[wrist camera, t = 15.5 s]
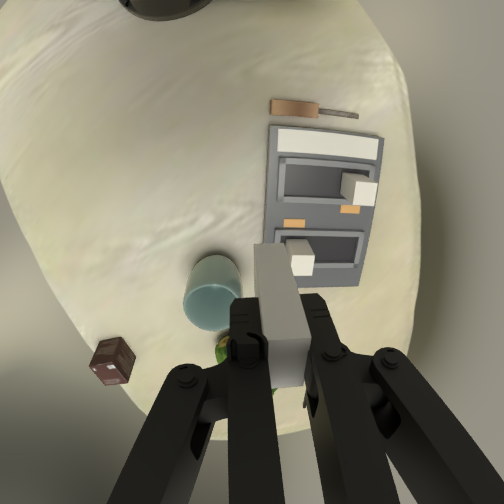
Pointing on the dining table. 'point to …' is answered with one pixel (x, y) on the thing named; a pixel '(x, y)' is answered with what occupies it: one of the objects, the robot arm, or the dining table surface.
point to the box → (113, 361)
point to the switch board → (320, 198)
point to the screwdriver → (304, 109)
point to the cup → (212, 292)
